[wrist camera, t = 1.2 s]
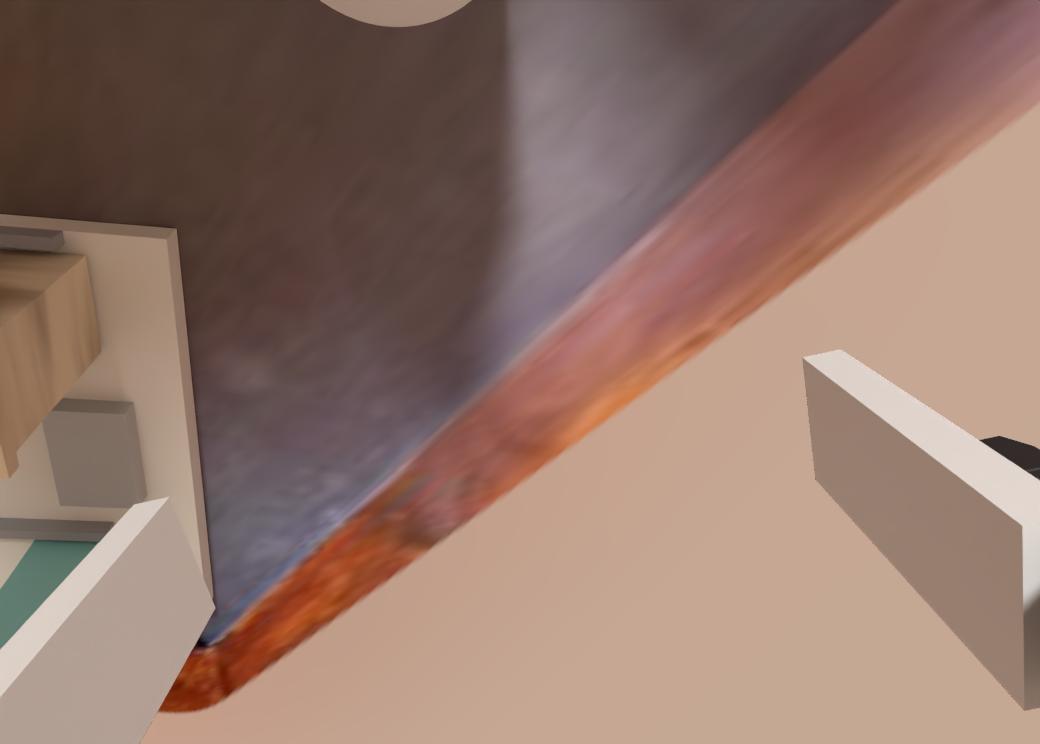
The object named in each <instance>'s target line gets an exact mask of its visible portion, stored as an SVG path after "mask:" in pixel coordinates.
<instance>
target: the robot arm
mask: <svg viewBox="0 0 1040 744" xmlns="http://www.w3.org/2000/svg"><path fill="white" fill-rule="evenodd" d="M802 359H803V368H804V377H805V387H806V396H807V405H808V414H809V424H810V433H811V443H812V452H813V461H814V471H815V479H816V480H817V482H818V483H819V484H820V485H821V486H822V487H823V488H824V489H825V491H826V492H827V493H828V494H829V495H830V496H831V497H832V498H833V499H834V501H835V502H836V503H837V504H838V505H839V506H840V507H841V508H842V509H843V510H844V512H845V513H846V514H847V515H848V516H849V517H850V518H851V519H852V520H853V521H854V523H855V524H856V525H857V526H858V527H859V528H860V529H861V530H862V531H863V533H864V534H865V535H866V536H867V537H868V538H869V539H870V540H871V541H872V543H873V544H874V545H875V546H876V547H877V548H878V549H879V550H880V551H881V553H882V554H883V555H884V556H885V557H886V558H887V559H888V560H889V561H890V563H892V565H893V566H894V567H895V568H896V569H897V570H898V571H899V572H900V574H901V575H902V576H903V577H904V578H905V579H906V580H907V581H908V582H909V584H910V585H911V586H912V587H913V588H914V589H915V590H916V591H917V592H918V594H919V595H920V596H921V597H922V598H923V599H924V600H925V601H926V602H927V603H928V604H929V606H930V607H931V608H932V609H933V610H934V611H935V612H936V613H937V615H938V616H939V617H940V618H941V619H942V620H943V621H944V622H945V623H946V624H947V626H949V628H950V629H951V630H952V631H953V632H954V633H955V634H956V636H957V637H958V638H959V639H960V640H961V641H962V642H963V643H964V644H965V646H966V647H968V649H969V650H970V651H971V652H972V653H973V654H974V656H975V657H976V658H977V659H978V660H979V661H980V662H981V663H982V664H983V666H984V667H985V668H986V669H987V670H988V671H989V672H990V673H991V674H992V675H993V676H994V678H995V679H996V680H997V681H998V682H999V683H1000V684H1001V685H1002V687H1003V688H1004V689H1005V690H1006V691H1007V692H1008V693H1009V694H1010V695H1011V697H1012V698H1014V700H1015V701H1016V702H1017V703H1018V704H1019V705H1020V706H1021V708H1022V709H1023V710H1031V709H1035V708H1040V450H1039V449H1038V448H1036V447H1034V446H1031V445H1028V444H1024V443H1021V442H1018V441H1014V440H1011V439H1008V438H1004V437H1001V436H997V437H993V438H988V439H983V440H978V439H976V438H975V437H973V436H972V435H970V434H968V433H967V432H965V431H964V430H962V429H961V428H959V427H958V426H956V425H955V424H953V423H952V422H950V421H948V420H947V419H946V418H944V417H942V416H941V415H940V414H938V413H937V412H935V411H934V410H932V409H930V408H929V407H927V406H926V405H924V404H923V403H921V402H920V401H918V400H917V399H915V398H914V397H912V396H911V395H909V394H908V393H906V392H905V391H903V390H901V389H900V388H898V387H897V386H895V385H894V384H892V383H891V382H889V381H888V380H886V379H885V378H883V377H882V376H880V375H879V374H877V373H876V372H874V371H873V370H871V369H870V368H868V367H867V366H865V365H864V364H862V363H861V362H859V361H857V360H856V359H854V358H853V357H851V356H850V355H848V354H847V353H845V352H844V351H842V350H840V349H839V350H835V351H831V352H826V353H821V354H817V355H812V356H808V357H803V358H802ZM214 610H215V605H214V603H213V601H212V598H211V596H210V593H209V591H208V588H207V586H206V584H205V581H204V579H203V576H202V574H201V571H200V569H199V567H198V564H197V562H196V559H195V557H194V554H193V552H192V550H191V547H190V545H189V542H188V540H187V537H186V535H185V533H184V530H183V528H182V525H181V523H180V520H179V518H178V516H177V513H176V511H175V508H174V506H173V503H172V501H171V499H170V497H166V498H162V499H157V500H153V501H148V502H144V503H139V504H134V505H133V506H132V507H131V508H130V509H129V510H128V512H127V513H126V514H125V515H124V516H123V517H122V518H121V519H120V520H119V521H118V522H117V523H116V525H115V526H114V527H113V528H112V529H111V530H110V531H109V532H108V533H107V534H106V535H105V537H104V538H103V539H102V540H101V541H100V542H99V543H98V544H97V545H96V546H95V547H94V548H93V550H92V551H91V552H90V553H89V554H88V555H87V556H86V557H85V558H84V559H83V560H82V561H81V563H80V564H79V565H78V566H77V567H76V568H75V569H74V570H73V571H72V572H71V573H70V575H69V576H68V577H67V578H66V579H65V580H64V581H63V582H62V583H61V584H60V585H59V586H58V588H57V589H56V590H55V591H54V592H53V593H52V594H51V595H50V596H49V597H48V598H47V599H46V601H45V602H44V603H43V604H42V605H41V606H40V607H39V608H38V609H37V610H36V611H35V612H34V614H33V615H32V616H31V617H30V618H29V619H28V620H27V621H26V622H25V623H24V624H23V626H22V627H21V628H20V629H19V630H18V631H17V632H16V633H15V634H14V635H13V636H12V637H11V639H10V640H9V641H8V642H7V643H6V644H5V645H4V646H3V647H2V648H1V649H0V744H140V742H141V740H142V739H143V737H144V735H145V733H146V731H147V729H148V728H149V726H150V724H151V723H152V721H153V719H154V717H155V715H156V714H157V712H158V710H159V708H160V706H161V705H162V703H163V701H164V699H165V698H166V696H167V694H168V692H169V690H170V689H171V687H172V685H173V683H174V681H175V680H176V678H177V676H178V674H179V673H180V671H181V669H182V667H183V665H184V664H185V662H186V660H187V658H188V656H189V655H190V653H191V651H192V649H193V648H194V646H195V644H196V642H197V640H198V639H199V637H200V635H201V633H202V631H203V630H204V628H205V626H206V624H207V623H208V621H209V619H210V617H211V615H212V614H213V612H214Z"/></svg>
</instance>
